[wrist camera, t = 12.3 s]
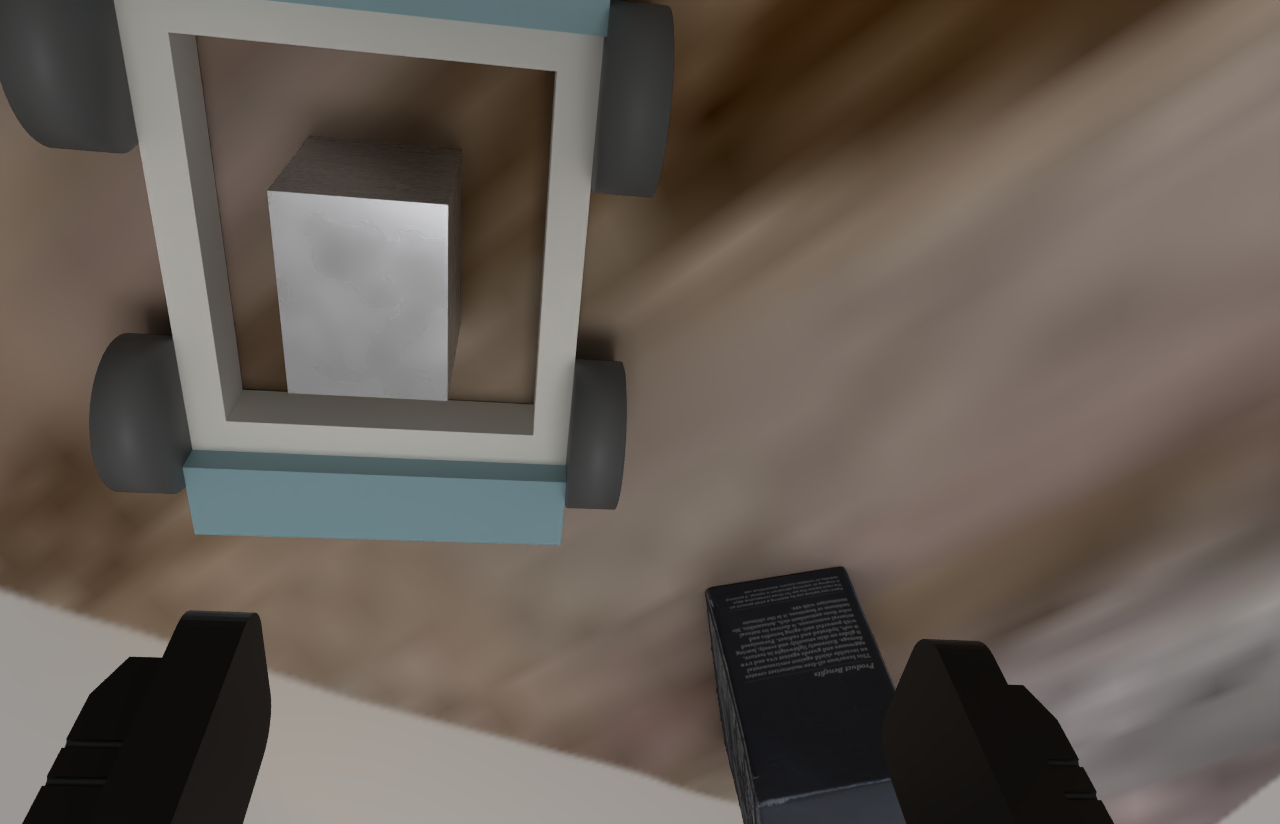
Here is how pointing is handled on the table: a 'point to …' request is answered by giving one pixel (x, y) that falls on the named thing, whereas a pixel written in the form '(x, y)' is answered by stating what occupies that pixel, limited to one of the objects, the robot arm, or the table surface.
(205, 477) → the chassis
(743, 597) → the small box
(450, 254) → the block
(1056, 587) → the table surface
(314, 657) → the table surface
